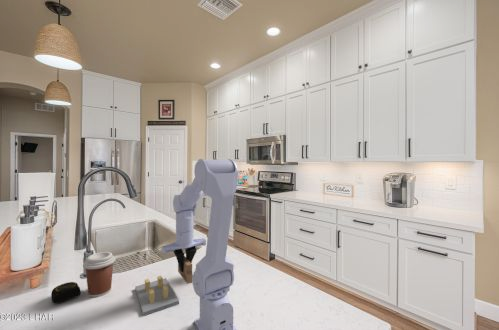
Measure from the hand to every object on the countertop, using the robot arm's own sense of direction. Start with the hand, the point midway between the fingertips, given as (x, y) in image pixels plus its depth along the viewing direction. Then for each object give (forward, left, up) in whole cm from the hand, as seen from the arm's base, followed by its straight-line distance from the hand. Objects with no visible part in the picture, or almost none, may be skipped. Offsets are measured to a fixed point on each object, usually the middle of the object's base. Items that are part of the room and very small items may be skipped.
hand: (184, 269), depth 78 cm
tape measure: (+15, +33, -7) cm, 37 cm away
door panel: (0, 0, -2) cm, 2 cm away
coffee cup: (+14, +24, -7) cm, 29 cm away
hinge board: (+1, +9, -7) cm, 11 cm away
